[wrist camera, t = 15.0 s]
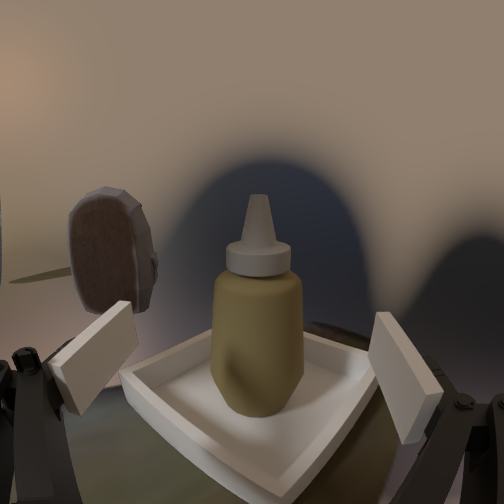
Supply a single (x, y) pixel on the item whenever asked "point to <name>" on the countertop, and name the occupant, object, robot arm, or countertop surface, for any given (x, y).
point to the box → (253, 428)
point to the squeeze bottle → (257, 320)
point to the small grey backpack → (111, 251)
